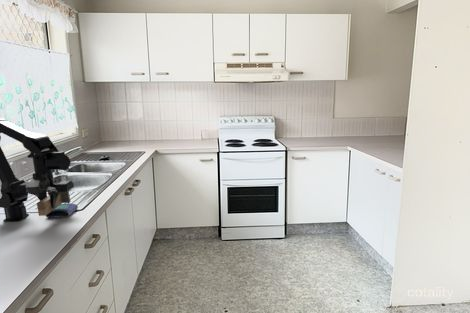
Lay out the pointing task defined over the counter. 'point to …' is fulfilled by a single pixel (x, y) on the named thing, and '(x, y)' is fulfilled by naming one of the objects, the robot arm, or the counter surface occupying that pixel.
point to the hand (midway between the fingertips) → (49, 207)
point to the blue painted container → (62, 210)
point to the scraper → (45, 204)
